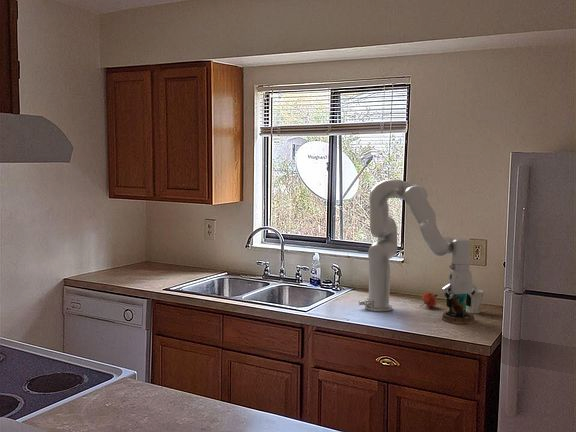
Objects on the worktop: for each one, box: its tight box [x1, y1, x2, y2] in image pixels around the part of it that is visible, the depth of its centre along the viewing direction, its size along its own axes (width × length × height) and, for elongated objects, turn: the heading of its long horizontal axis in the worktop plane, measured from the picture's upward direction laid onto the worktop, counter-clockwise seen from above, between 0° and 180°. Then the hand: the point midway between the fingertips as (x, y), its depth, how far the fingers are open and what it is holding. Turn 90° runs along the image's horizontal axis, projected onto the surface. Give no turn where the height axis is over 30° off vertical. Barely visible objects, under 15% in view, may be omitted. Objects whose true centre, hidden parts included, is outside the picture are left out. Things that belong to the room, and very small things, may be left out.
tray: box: [441, 310, 476, 325], centre depth 277 cm, size 14×14×2 cm
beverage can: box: [448, 294, 467, 318], centre depth 277 cm, size 7×7×12 cm
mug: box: [466, 288, 484, 315], centre depth 292 cm, size 8×13×10 cm, turn 58°
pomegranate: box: [419, 292, 439, 309], centre depth 299 cm, size 7×7×10 cm
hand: (458, 306), depth 276 cm, fingers open, 9 cm apart
